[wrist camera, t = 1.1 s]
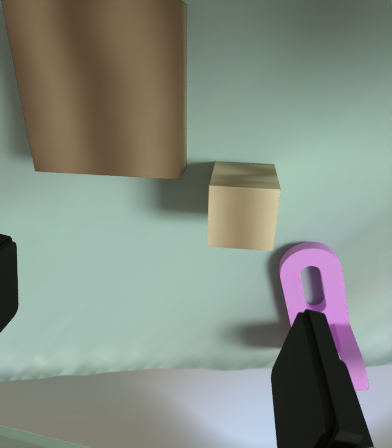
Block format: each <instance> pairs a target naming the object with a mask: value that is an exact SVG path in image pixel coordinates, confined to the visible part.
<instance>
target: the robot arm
mask: <svg viewBox="0 0 392 448" xmlns="http://www.w3.org/2000/svg"><path fill="white" fill-rule="evenodd" d="M17 310H18V275H17V246H16V243H15V242H12V238H11V237H10V236H7V235H3V234H0V332H1V331H2V330H3V329H4V328H5V327H6V325H7V324H8V323H9V322H10V321H11V319H12V318H13V317H14V316H15V314H16V312H17ZM271 383H272V395H273V406H274V417H275V428H276V438H277V448H374V446H373V443H372V440H371V437H370V434H369V431H368V428H367V425H366V422H365V419H364V416H363V413H362V410H361V407H360V404H359V401H358V398H357V395H356V392H355V389H354V386H353V383H352V380H351V377H350V374H349V371H348V368H347V366H346V364H345V363H344V362H343V361H342V360H340V358H339V355H338V352H337V349H336V346H335V343H334V340H333V336H332V333H331V330H330V327H329V324H328V321H327V318H326V315H325V314H324V313H322V312H318V311H314V310H310V309H305V310H304V312H298V314H297V316H296V318H295V320H294V322H293V324H292V327H291V329H290V331H289V333H288V335H287V338H286V340H285V342H284V344H283V346H282V349H281V351H280V353H279V355H278V358H277V360H276V362H275V364H274V366H273V369H272V374H271ZM0 448H91V447H87V446H83V445H79V444H75V443H71V442H66V441H63V440H59V439H55V438H50V437H47V436H42V435H38V434H34V433H30V432H26V431H22V430H18V429H14V428H9V427H6V426H1V425H0Z"/></svg>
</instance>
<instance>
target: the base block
mask: <svg viewBox="0 0 392 448" xmlns="http://www.w3.org/2000/svg"><path fill="white" fill-rule="evenodd" d="M1 2H2V7H3V12H4V17H5V22H6V27H7V32H8V37H9V42H10V47H11V52H12V57H13V62H14V67H15V72H16V77H17V82H18V87H19V92H20V97H21V102H22V107H23V112H24V117H25V122H26V128H27V133H28V138H29V143H30V148H31V153H32V158H33V163H34V168H35V171H38V172H56V173H74V174H92V175H110V176H128V177H147V178H165V179H180V178H181V176H182V174H183V172H184V170H185V168H186V166H187V4H185V3H184V2H183V1H181V0H1Z"/></svg>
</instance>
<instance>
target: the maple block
mask: <svg viewBox="0 0 392 448" xmlns="http://www.w3.org/2000/svg"><path fill="white" fill-rule="evenodd" d="M280 191H281V189H280V185H279V181H278V177H277V173H276V169H275V165H274V164H256V163H236V162H215V165H214V169H213V172H212V176H211V180H210V184H209V204H208V235H207V246H210V247H223V248H237V249H250V250H264V251H273V244H274V237H275V229H276V221H277V214H278V206H279V198H280Z"/></svg>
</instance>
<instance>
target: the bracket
mask: <svg viewBox="0 0 392 448" xmlns="http://www.w3.org/2000/svg"><path fill="white" fill-rule="evenodd" d="M308 266H315V267H317V268H319V270H320V277H321V283H322V289H323V295H324V299H323V301H322V302H321V303H319V304H317V305H311V304H308V303H307V302H306V301H305V296H304V291H303V286H302V280H301V271H302V270H303V269H304V268H305V267H308ZM279 272H280V278H281V283H282V288H283V292H284V297H285V301H286V306H287V310H288V315H289V319H290V324H291V327H292V324H293V322H294V320H295V318H296V316H297V314H298V312H304V310H305V309H310V310H314V311H318V312H322V313H324V314H325V315H326V318H327V321H328V324H329V327H330V330H331V333H332V336H333V340H334V343H335V346H336V349H337V352H338V353H339V355H340V358H341V360H342V361H343V362H344V363H345V364H346V366H347V368H348V371H349V374H350V377H351V380H352V383H353V386H354V389H355V391H360V390H368V389H369V384H368V378H367V373H366V369H365V365H364V362H363V359H362V356H361V353H360V350H359V347H358V345H357V342H356V340H355V337H354V334H353V332H352V329H351V326H350V323H349V317H348V309H347V302H346V294H345V286H344V279H343V271H342V266H341V263H340V261H339V259H338V257H337V255H336V253H335V252H334V251H333V250H332V249H331V248H330V247H328V246H327V245H324V244H322V243H318V242H303V243H300V244H297V245H295V246H293V247H291V248H290V249H288V250H287V251H286V252H285V253H284V255H283V256H282V258H281V260H280V263H279Z"/></svg>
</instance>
